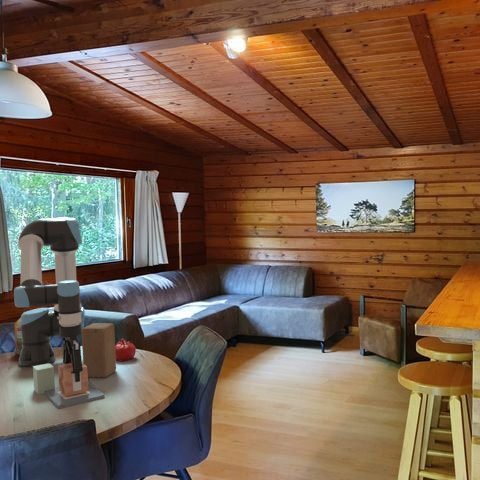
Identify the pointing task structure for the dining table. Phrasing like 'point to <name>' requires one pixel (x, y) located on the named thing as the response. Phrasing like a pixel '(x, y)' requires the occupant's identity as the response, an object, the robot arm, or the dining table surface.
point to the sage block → (43, 378)
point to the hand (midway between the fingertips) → (73, 386)
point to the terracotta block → (71, 379)
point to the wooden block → (99, 349)
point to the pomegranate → (124, 351)
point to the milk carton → (18, 336)
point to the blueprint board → (73, 397)
